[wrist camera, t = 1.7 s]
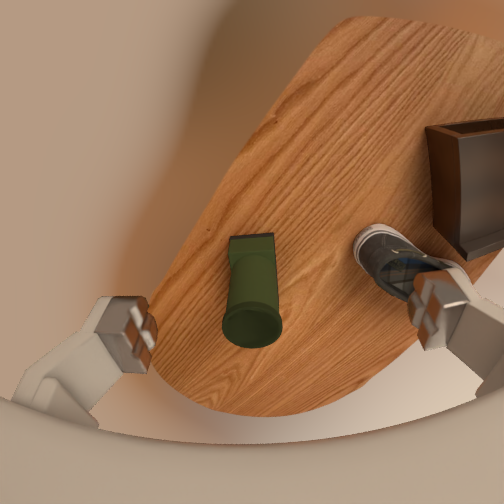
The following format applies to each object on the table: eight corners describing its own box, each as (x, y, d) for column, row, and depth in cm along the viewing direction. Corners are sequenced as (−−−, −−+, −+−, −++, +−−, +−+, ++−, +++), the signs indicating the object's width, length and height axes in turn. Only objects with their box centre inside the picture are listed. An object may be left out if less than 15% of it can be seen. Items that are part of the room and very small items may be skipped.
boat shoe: (473, 277, 39) (498, 309, 32) (440, 314, 43) (460, 348, 36) (379, 198, 33) (408, 229, 26) (338, 252, 37) (355, 293, 30)
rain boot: (229, 236, 36) (216, 306, 25) (274, 232, 36) (281, 302, 25) (240, 305, 42) (234, 379, 31) (279, 302, 42) (284, 376, 31)
